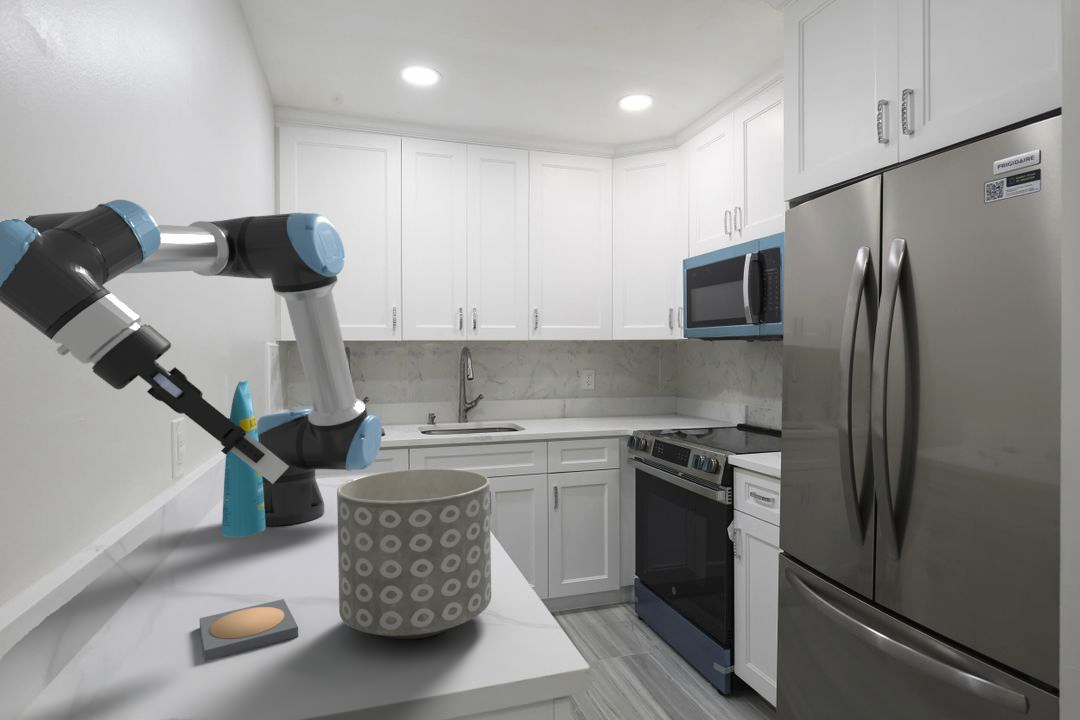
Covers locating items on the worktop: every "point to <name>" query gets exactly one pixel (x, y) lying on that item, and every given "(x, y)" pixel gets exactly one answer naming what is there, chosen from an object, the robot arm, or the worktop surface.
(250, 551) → the worktop surface
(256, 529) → the tube
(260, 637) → the coaster
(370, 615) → the planter
